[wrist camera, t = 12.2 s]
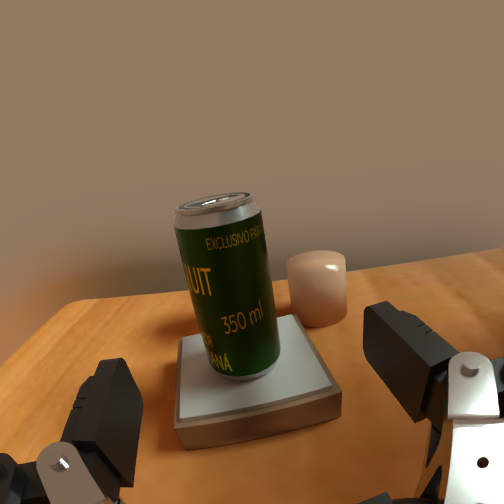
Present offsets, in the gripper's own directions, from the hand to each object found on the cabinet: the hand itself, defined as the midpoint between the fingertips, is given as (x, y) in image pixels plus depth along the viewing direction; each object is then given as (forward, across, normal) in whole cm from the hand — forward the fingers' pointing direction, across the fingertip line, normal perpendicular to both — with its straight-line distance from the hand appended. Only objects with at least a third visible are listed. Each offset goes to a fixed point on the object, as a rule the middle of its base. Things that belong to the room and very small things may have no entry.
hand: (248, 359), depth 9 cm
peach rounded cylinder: (+20, -9, +12) cm, 25 cm away
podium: (+11, 0, +12) cm, 16 cm away
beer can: (+11, 0, +9) cm, 14 cm away
